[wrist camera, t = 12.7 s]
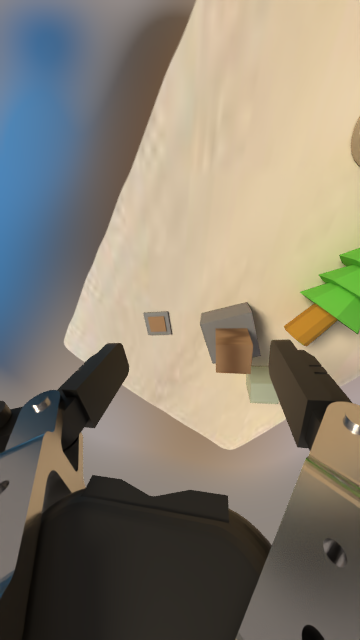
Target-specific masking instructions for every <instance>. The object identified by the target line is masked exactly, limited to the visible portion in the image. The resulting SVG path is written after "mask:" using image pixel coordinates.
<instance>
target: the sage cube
mask: <svg viewBox="0 0 360 640" xmlns="http://www.w3.org/2000/svg"><path fill="white" fill-rule="evenodd" d="M246 385H247V390H248V394H249V399H250V403H264V404H278V402H279V399H278V397H277V394H276V391H275V389H274V386H273V384H272V381H271V379H270V375H269V366H251V374H247V375H246Z"/></svg>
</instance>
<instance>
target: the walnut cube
mask: <svg viewBox="0 0 360 640" xmlns="http://www.w3.org/2000/svg"><path fill="white" fill-rule="evenodd" d="M252 352H253V343H252V341H251V338H250V335H249V332H248V329H247V328H216V372H217V373H239V374H251V364H252Z"/></svg>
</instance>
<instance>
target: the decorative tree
mask: <svg viewBox="0 0 360 640" xmlns="http://www.w3.org/2000/svg"><path fill="white" fill-rule="evenodd" d="M339 256H340V258H341V261H342V263H343V264H344V265H345V266H347V267H344V268H340V269H337V270H333V271H330V272H326V273H323V274H319V276H320V277H321V279H322V280H323V281H324V282H325V283H326V284H324V285H320V286H317V287H314V288H311V289H308V290H305V291H302V292H300V293H302V294H303V295H304V296H305V297H307V298H308V299H309V300H311V301H312V302H314V304H313V305H312V306H310V307H309V308H308V309H306V310H305V311H304V312H302V313H301V314H300V315H298V316H297V317H296V318H294V319H293V320H292V321H290V322H289V323H288V324H286V325H285V326H284V328H285V330H286V331H287V332H288V333H289V334H290V335H291V336H293V337H294V338H295V339H296V340H297V341H298V342H300V343H301V344H302V345H304V346H308V345H309V344H310V343H311V342H312V341H314V340H315V339H316V338H317V337H318V336H320V335H321V334H322V333H323V332H324V331H325V330H327V329H328V328H329V327H330V326H331V325H333V324H334V323H335V322H336V321H337V320H338V321H340V322H341V323H343V324H344V325H345V326H347V327H348V328H350V329H351V330H353V331H354V332H355V333H357V334H358V333H359V330H360V248H358V249H355V250H352V251H349V252H347V253H344V254H341V255H339Z"/></svg>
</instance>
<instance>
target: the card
mask: <svg viewBox="0 0 360 640" xmlns="http://www.w3.org/2000/svg"><path fill="white" fill-rule="evenodd" d="M143 314H144V318H145V322H146V327H147V331H148V335H166V334H172V333H171V327H170V322H169V316H168V311H164V312H147V313H143Z"/></svg>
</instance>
